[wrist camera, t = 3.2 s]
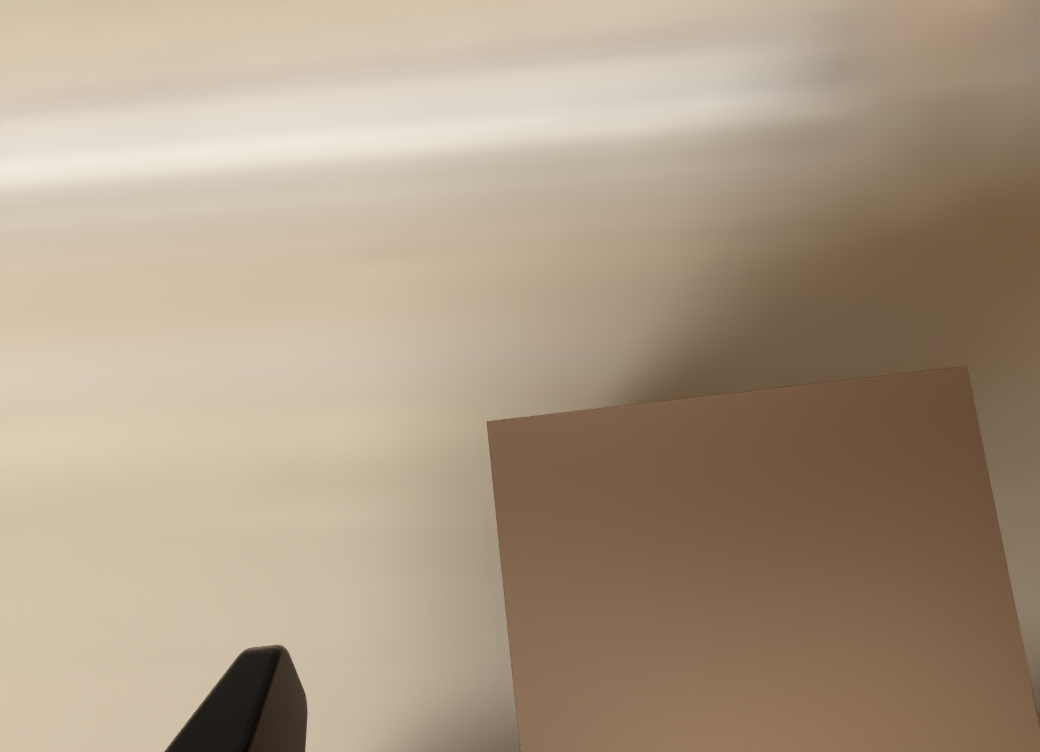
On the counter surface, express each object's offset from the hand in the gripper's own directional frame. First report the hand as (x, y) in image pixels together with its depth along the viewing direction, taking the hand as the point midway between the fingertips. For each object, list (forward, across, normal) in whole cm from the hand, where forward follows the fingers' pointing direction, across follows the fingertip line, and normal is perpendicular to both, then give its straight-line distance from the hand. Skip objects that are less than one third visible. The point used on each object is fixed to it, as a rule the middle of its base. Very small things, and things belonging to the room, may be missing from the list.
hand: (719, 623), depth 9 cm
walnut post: (+6, 0, +6) cm, 8 cm away
